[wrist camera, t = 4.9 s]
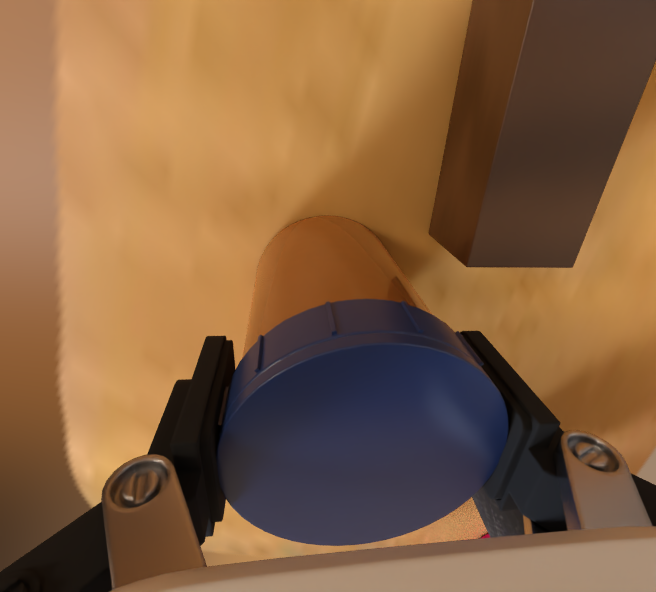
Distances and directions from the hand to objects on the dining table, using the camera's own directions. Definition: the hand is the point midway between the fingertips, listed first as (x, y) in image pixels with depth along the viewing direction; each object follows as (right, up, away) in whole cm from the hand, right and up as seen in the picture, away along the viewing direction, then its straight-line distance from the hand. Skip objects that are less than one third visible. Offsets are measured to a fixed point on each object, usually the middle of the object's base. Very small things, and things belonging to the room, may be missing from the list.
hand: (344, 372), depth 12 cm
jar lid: (0, -1, -3) cm, 3 cm away
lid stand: (+7, +9, +3) cm, 12 cm away
